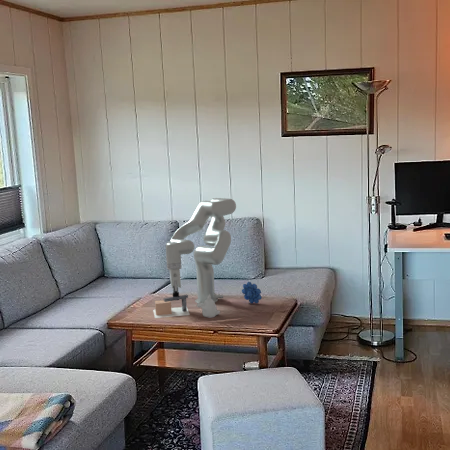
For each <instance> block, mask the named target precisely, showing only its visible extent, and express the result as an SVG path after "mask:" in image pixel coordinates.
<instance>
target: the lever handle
mask: <svg viewBox="0 0 450 450" xmlns="http://www.w3.org/2000/svg"><path fill="white" fill-rule="evenodd" d="M188 298H189V295H188V294H186V293H185V294H181V295H180V294H179V296H175V297H173V296H170V297H164V298H163V300H164V302H168V301H171V302H172V301H180V300H181V307H182V311H187V309H188V305H187V299H188Z"/></svg>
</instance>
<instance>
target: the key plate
mask: <svg viewBox="0 0 450 450" xmlns="http://www.w3.org/2000/svg"><path fill="white" fill-rule="evenodd" d="M171 310H172V314H164V315H156V312H155V308H154V309H153V310H152V312H153V315H154V316H153V317H154V319H162V318H171V317H172V318H174V317H182V316H183V317H184V316H185V317H186V316H190V315H191V314H190V312H189V309H188V308H187V311H182V306H181V307H179V306H178V307H171Z"/></svg>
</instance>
